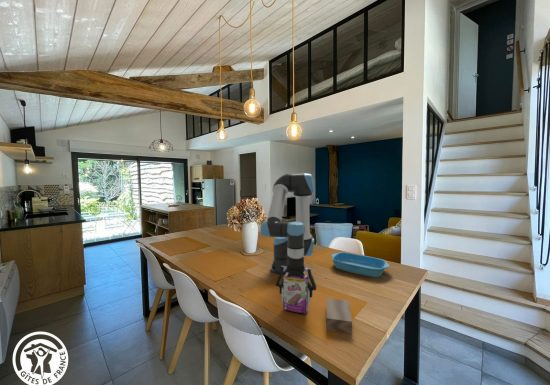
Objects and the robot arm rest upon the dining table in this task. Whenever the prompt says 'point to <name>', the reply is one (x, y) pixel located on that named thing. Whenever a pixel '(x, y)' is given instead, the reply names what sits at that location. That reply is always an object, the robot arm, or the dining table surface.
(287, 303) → the candy bar box
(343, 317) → the walnut block
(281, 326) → the dining table surface
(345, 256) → the casserole dish
